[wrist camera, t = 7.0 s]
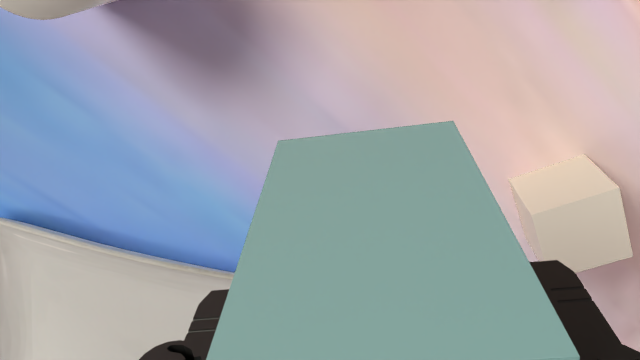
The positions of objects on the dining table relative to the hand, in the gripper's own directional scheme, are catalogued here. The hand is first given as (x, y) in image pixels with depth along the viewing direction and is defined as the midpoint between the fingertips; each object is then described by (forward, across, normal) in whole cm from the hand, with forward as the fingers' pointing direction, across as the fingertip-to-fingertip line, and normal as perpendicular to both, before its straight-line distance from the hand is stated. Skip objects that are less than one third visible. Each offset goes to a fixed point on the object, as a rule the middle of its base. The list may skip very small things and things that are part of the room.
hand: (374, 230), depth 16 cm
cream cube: (+19, +12, -10) cm, 24 cm away
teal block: (0, 0, 0) cm, 0 cm away
